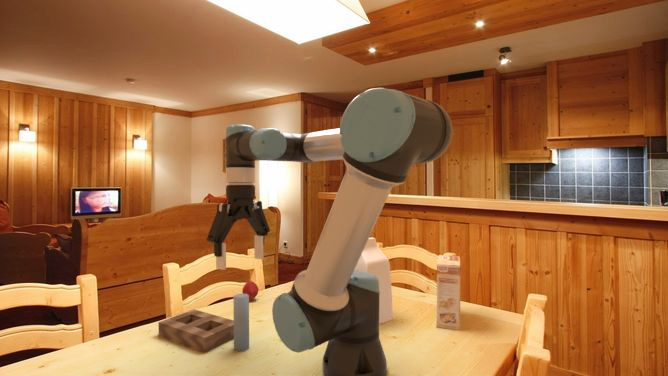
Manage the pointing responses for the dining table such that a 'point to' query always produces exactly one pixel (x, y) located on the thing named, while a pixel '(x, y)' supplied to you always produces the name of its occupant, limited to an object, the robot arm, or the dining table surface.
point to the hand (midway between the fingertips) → (241, 263)
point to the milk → (378, 276)
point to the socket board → (197, 330)
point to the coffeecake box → (448, 292)
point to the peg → (241, 322)
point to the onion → (250, 289)
